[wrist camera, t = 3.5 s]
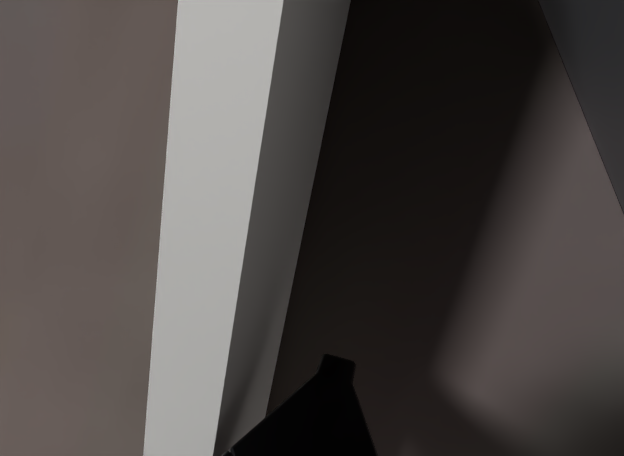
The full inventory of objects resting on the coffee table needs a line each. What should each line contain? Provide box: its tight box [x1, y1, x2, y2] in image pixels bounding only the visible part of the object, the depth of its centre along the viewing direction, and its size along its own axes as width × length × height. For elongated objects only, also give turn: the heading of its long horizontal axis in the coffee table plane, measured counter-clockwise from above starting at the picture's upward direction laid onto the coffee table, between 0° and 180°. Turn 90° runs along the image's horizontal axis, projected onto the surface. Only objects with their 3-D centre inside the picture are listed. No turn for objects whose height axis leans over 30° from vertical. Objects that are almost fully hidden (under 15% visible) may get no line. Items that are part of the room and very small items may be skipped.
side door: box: [143, 0, 351, 456], centre depth 8 cm, size 17×2×6 cm, turn 168°
